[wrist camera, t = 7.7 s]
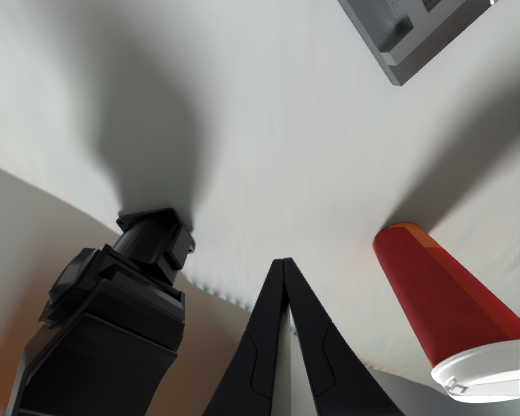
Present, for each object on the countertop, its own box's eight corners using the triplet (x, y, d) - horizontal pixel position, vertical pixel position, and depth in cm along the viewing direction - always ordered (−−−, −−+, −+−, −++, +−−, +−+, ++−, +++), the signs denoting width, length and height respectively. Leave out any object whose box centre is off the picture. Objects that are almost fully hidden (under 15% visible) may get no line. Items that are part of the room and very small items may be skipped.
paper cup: (361, 265, 28) (431, 408, 17) (365, 220, 24) (465, 371, 12) (424, 257, 27) (543, 401, 16) (441, 209, 23) (621, 359, 12)
